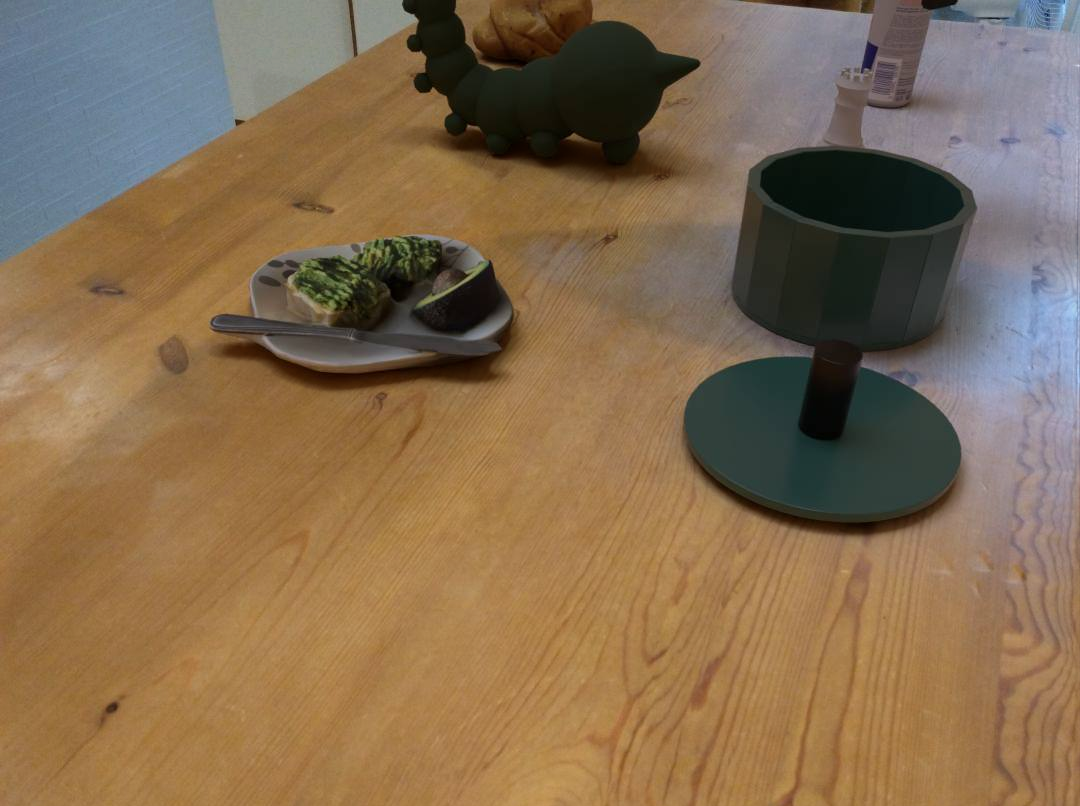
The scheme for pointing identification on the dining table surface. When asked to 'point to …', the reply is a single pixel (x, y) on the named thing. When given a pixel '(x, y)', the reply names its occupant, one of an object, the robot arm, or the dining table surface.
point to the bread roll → (530, 27)
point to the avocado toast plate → (375, 305)
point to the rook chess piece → (848, 109)
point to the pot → (850, 245)
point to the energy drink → (895, 50)
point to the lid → (822, 437)
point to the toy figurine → (547, 85)
